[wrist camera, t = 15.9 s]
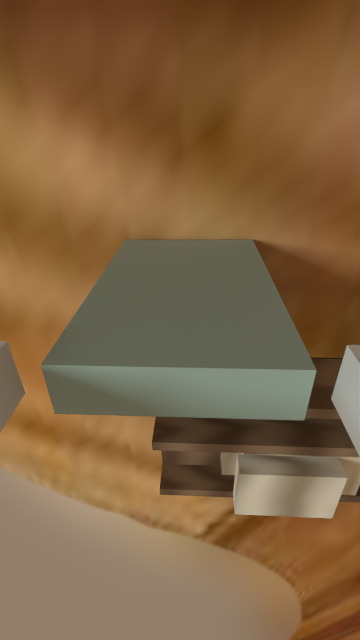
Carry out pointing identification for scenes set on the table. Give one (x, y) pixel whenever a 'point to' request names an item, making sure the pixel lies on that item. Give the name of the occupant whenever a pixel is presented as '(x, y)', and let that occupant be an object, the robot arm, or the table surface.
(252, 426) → the rack
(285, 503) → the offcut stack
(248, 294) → the grey-green flat block
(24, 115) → the table surface
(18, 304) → the table surface
